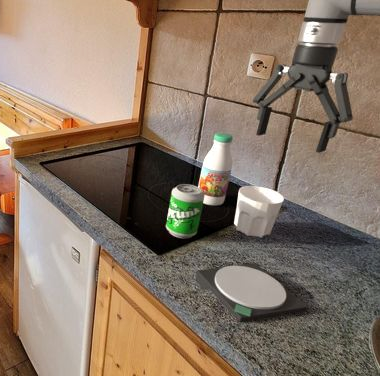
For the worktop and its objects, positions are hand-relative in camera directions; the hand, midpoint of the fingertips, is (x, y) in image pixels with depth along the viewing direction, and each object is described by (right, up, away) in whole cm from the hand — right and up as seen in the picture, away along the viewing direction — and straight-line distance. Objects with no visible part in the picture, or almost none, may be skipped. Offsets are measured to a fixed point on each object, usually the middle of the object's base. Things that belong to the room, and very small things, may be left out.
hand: (288, 142), depth 93 cm
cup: (-3, -21, +11) cm, 24 cm away
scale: (-16, -32, -13) cm, 38 cm away
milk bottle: (-8, -14, +26) cm, 31 cm away
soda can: (-22, -22, +9) cm, 32 cm away
